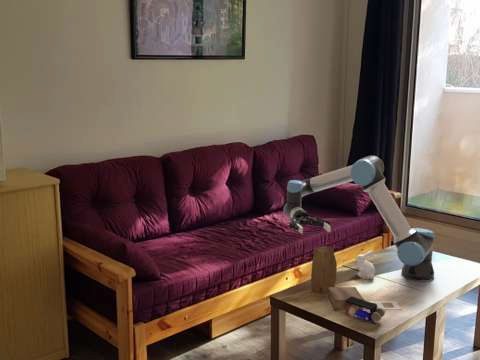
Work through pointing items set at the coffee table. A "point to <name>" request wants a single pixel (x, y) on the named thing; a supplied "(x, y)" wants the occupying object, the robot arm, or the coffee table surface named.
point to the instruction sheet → (386, 305)
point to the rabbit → (365, 266)
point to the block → (323, 269)
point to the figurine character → (354, 311)
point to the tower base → (342, 297)
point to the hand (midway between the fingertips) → (316, 230)
